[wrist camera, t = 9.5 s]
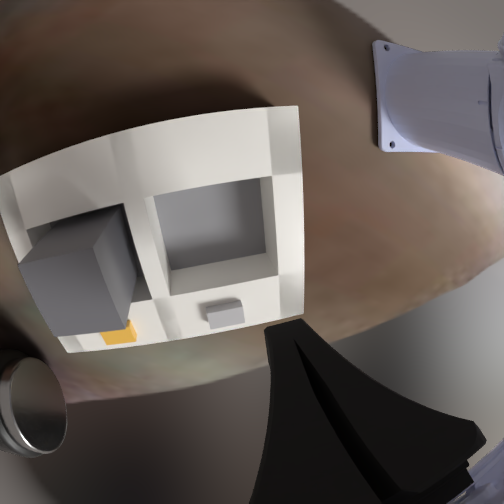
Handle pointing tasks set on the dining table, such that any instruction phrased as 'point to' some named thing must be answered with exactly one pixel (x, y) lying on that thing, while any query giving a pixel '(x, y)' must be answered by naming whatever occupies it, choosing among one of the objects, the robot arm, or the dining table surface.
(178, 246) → the double socket
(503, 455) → the robot arm
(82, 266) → the plug
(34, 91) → the dining table surface
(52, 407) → the muzzle brake
